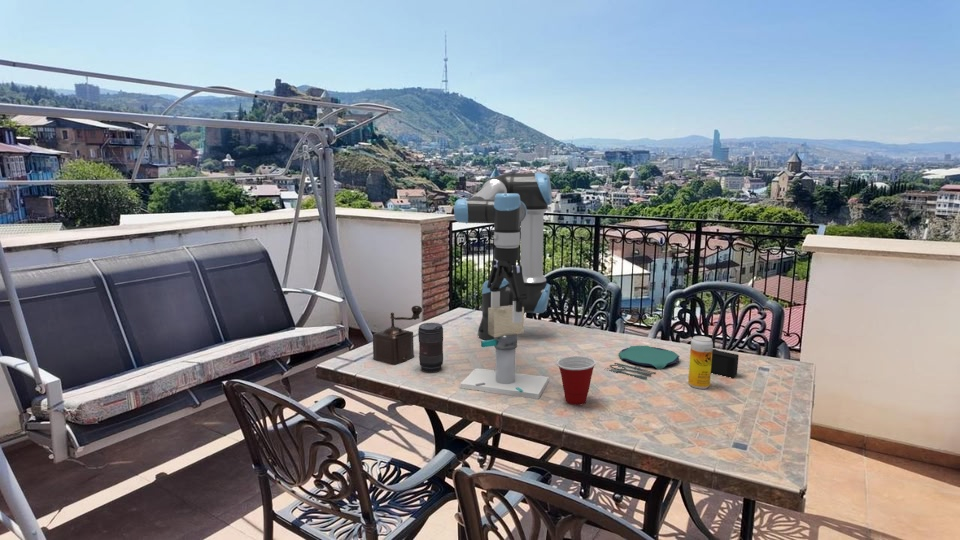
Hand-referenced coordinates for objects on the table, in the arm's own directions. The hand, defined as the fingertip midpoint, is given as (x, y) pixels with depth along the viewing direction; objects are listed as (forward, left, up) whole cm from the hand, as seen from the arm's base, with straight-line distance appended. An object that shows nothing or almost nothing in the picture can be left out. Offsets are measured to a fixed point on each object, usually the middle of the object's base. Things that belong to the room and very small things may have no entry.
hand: (505, 317), depth 156 cm
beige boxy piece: (+1, -1, -9) cm, 9 cm away
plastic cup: (+5, +22, -22) cm, 31 cm away
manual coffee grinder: (-13, -43, -22) cm, 50 cm away
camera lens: (-5, -27, -22) cm, 35 cm away
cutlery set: (-35, +39, -22) cm, 57 cm away
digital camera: (-34, +63, -22) cm, 75 cm away
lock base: (0, 0, -21) cm, 21 cm away
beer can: (-19, +56, -22) cm, 63 cm away
